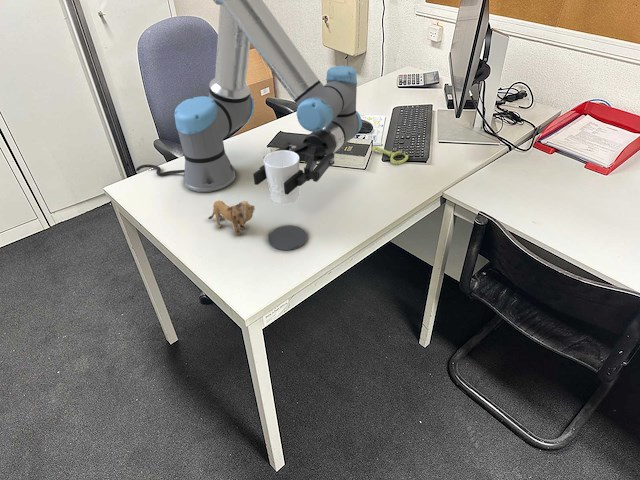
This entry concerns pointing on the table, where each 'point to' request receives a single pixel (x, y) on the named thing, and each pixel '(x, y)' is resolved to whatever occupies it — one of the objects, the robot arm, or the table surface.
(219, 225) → the lion figurine
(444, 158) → the table surface
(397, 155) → the key
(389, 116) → the table surface
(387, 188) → the table surface
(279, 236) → the slate coaster
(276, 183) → the white cup
